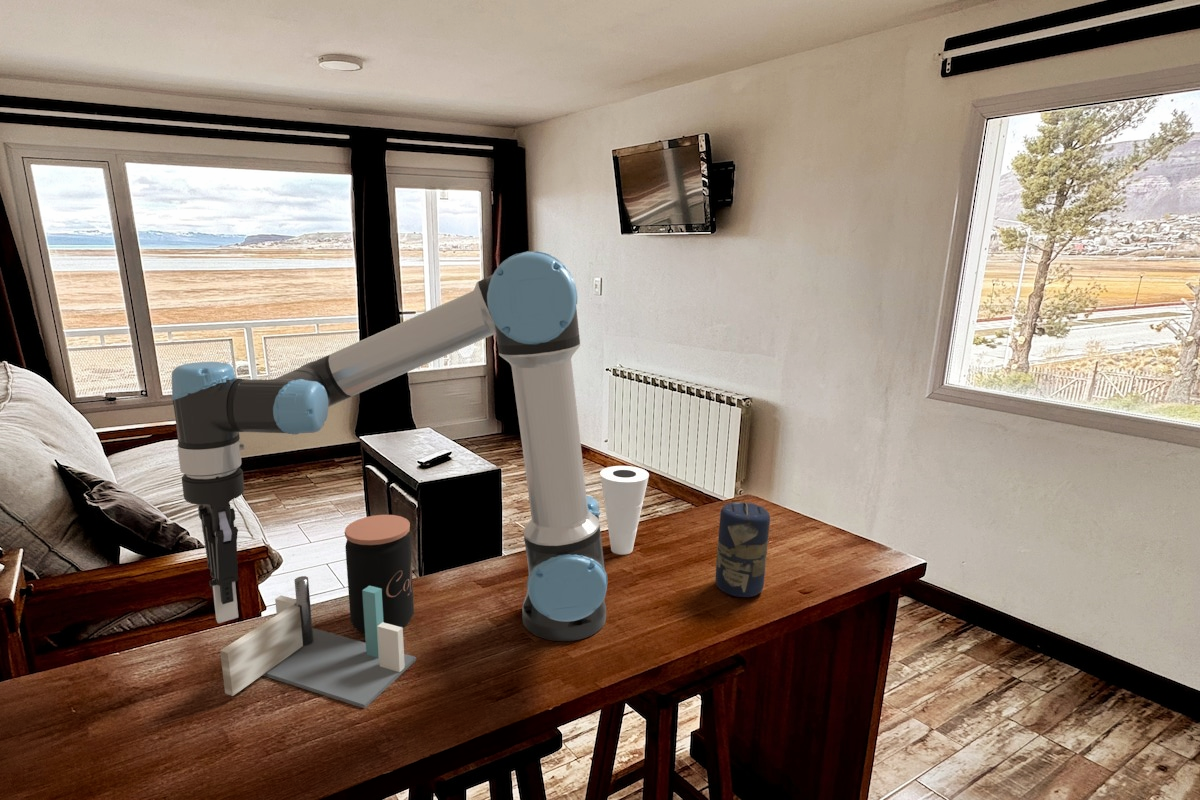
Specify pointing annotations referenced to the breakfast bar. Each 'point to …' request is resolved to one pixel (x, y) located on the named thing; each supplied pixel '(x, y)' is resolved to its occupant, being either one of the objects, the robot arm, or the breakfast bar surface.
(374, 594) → the bar
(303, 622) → the hinge post
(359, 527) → the coffee jar
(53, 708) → the breakfast bar surface
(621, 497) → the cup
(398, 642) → the fence
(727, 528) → the canister
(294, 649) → the gate
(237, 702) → the breakfast bar surface
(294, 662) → the mat
